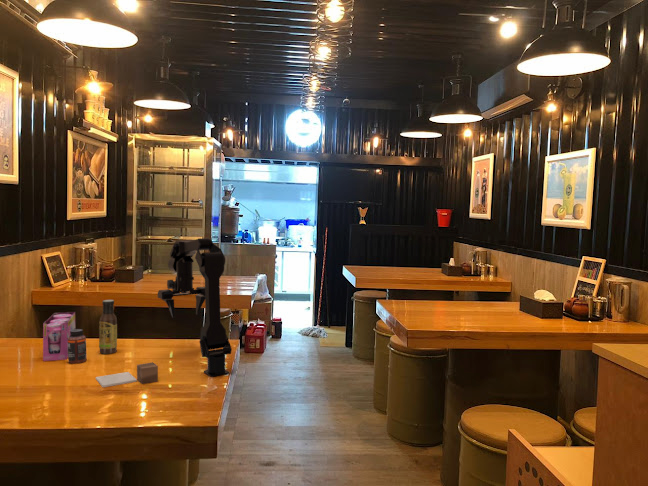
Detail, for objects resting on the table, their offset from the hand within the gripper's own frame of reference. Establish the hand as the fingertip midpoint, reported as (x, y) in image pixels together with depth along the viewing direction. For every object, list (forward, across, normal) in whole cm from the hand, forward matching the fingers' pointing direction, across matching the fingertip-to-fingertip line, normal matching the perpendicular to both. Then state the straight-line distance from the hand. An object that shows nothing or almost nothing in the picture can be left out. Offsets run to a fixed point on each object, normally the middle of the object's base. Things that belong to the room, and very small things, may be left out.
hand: (185, 315), depth 195 cm
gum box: (+15, +38, -30) cm, 50 cm away
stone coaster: (+15, +29, +17) cm, 37 cm away
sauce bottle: (+15, +23, -20) cm, 34 cm away
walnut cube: (+15, +21, +23) cm, 35 cm away
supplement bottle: (+15, +35, -13) cm, 40 cm away
